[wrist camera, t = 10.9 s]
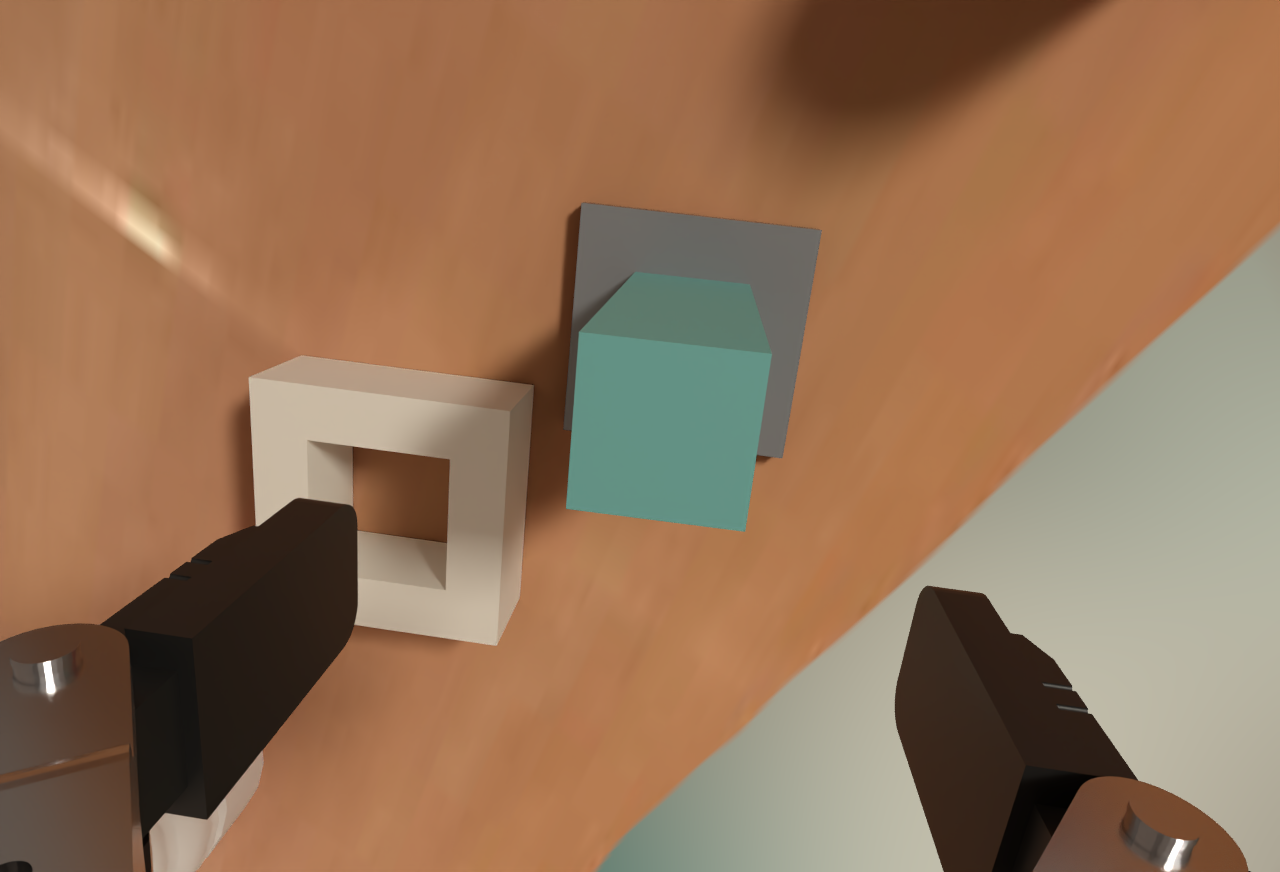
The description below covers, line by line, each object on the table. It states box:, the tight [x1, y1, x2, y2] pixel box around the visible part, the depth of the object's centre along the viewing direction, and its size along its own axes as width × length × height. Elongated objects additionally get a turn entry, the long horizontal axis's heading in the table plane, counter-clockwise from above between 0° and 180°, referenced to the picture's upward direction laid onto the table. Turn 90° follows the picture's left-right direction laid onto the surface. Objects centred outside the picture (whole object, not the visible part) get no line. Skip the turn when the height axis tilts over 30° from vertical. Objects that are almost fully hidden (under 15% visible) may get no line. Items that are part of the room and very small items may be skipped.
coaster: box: [563, 202, 822, 458], centre depth 31 cm, size 9×9×1 cm
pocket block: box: [249, 355, 534, 646], centre depth 33 cm, size 10×10×4 cm
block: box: [566, 272, 772, 532], centre depth 25 cm, size 4×4×13 cm
